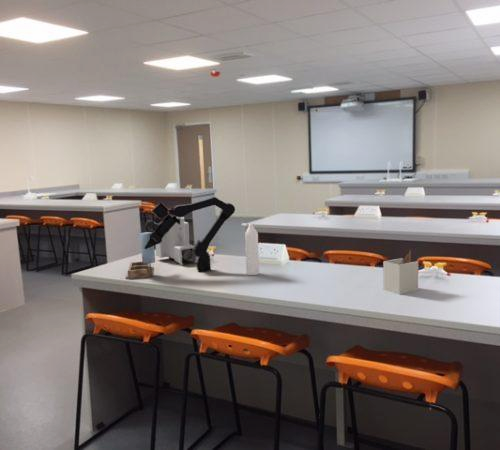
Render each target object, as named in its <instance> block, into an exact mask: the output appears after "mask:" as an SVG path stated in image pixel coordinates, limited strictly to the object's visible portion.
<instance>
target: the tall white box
mask: <svg viewBox="0 0 500 450" xmlns="http://www.w3.org/2000/svg"><path fill="white" fill-rule="evenodd" d="M411 253H412V250H411V249H409V253H408V254H407V255H406V256H405V257H404V258H402V257H400V258H395V259H389V260H384V261H383V262H382V263H383V265H382V266H383V274H382V275H383V276H382V277H383V280H382V281H383V284H382V285H383V289H382V290H383V291H386V292H389V293H392V292H393V294H397V295H403V293H404V294H407V292H408V293H411V291H412V292H416V291H419V261H418V260H417V261H412V260H411V259H412V254H411ZM415 290H416V291H415Z"/></svg>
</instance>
